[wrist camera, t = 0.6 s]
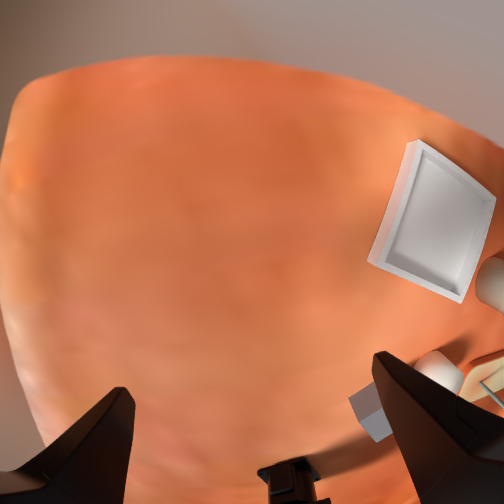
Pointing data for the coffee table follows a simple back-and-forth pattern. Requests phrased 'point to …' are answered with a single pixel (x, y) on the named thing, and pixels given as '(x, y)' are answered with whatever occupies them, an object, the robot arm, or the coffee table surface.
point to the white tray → (433, 223)
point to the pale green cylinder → (491, 283)
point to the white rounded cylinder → (440, 370)
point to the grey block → (371, 412)
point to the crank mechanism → (483, 378)
